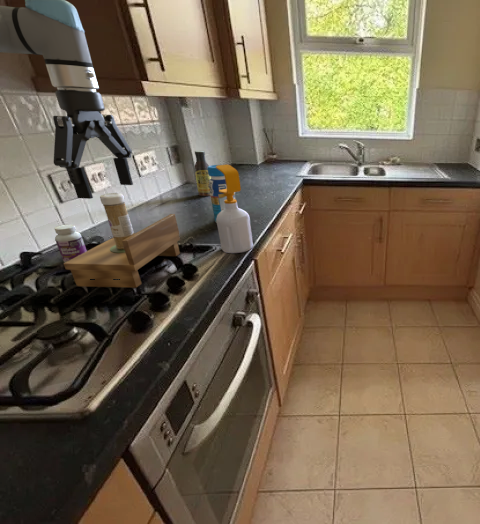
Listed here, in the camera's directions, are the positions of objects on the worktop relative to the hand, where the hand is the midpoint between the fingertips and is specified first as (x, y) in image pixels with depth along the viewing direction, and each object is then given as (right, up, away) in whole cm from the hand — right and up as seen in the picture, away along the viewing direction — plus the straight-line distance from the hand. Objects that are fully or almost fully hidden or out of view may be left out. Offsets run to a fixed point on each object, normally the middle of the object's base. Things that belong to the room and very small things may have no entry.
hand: (107, 191), depth 78 cm
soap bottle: (+22, -13, +23) cm, 34 cm away
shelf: (0, -19, +9) cm, 21 cm away
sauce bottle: (-15, +15, +78) cm, 81 cm away
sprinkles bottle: (0, -13, +6) cm, 15 cm away
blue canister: (+9, -2, +45) cm, 46 cm away
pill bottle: (-18, -17, +12) cm, 28 cm away
